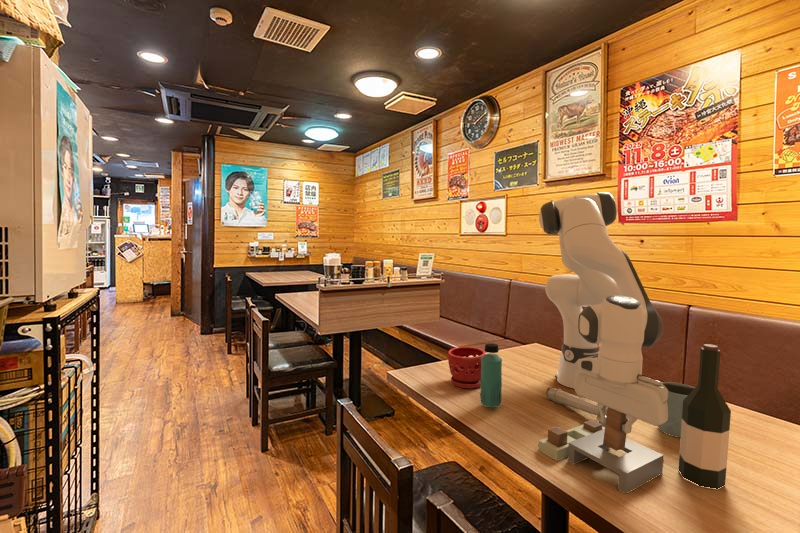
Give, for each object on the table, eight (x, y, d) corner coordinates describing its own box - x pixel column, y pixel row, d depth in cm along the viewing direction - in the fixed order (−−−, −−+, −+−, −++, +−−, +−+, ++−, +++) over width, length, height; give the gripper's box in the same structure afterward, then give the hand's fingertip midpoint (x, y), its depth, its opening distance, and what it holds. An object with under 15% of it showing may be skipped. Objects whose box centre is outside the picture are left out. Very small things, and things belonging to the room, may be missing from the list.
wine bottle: (669, 468, 93) (677, 340, 91) (702, 466, 94) (712, 340, 91) (698, 491, 85) (708, 351, 83) (735, 489, 86) (746, 350, 83)
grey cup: (647, 425, 114) (649, 384, 113) (670, 419, 118) (673, 379, 117) (684, 443, 104) (687, 398, 103) (708, 435, 108) (711, 392, 107)
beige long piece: (556, 385, 133) (624, 405, 110) (557, 406, 133) (626, 430, 110) (543, 387, 131) (610, 408, 108) (545, 408, 131) (612, 433, 108)
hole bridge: (604, 445, 103) (605, 428, 103) (662, 474, 91) (663, 455, 91) (567, 460, 96) (568, 442, 96) (625, 493, 84) (626, 473, 84)
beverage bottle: (501, 413, 121) (503, 347, 119) (479, 411, 122) (480, 346, 121) (500, 404, 127) (502, 342, 126) (479, 402, 129) (481, 340, 127)
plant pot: (462, 374, 153) (462, 343, 152) (492, 384, 144) (493, 351, 143) (440, 383, 144) (440, 350, 143) (470, 394, 135) (471, 359, 134)
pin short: (590, 433, 109) (591, 419, 109) (601, 439, 106) (602, 424, 106) (583, 436, 108) (583, 422, 107) (593, 442, 105) (594, 427, 104)
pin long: (611, 441, 95) (615, 404, 95) (624, 448, 92) (629, 409, 92) (603, 444, 93) (607, 405, 93) (616, 450, 91) (621, 411, 90)
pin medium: (555, 447, 102) (556, 426, 102) (566, 453, 99) (567, 431, 99) (547, 450, 101) (547, 429, 100) (557, 456, 98) (558, 434, 97)
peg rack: (591, 430, 111) (591, 421, 111) (609, 439, 106) (610, 429, 106) (538, 450, 101) (538, 440, 100) (556, 460, 96) (557, 450, 96)
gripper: (676, 381, 84) (672, 444, 85) (588, 354, 102) (585, 407, 103) (660, 386, 81) (655, 452, 82) (571, 358, 99) (569, 413, 100)
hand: (615, 427), depth 93 cm, fingers closed on pin long, 3 cm apart
